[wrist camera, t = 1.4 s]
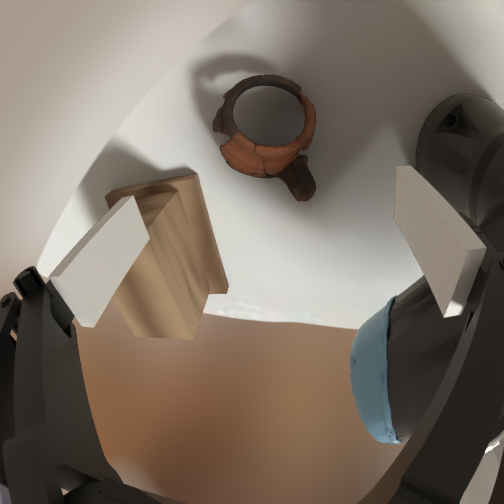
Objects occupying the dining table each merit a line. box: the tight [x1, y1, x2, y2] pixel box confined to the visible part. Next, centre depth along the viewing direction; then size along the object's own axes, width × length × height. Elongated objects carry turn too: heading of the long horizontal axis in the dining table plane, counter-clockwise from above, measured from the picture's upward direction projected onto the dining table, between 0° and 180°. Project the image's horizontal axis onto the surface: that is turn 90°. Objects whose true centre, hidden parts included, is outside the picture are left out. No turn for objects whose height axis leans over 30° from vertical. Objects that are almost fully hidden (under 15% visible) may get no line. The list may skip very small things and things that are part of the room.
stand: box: [105, 174, 229, 340], centre depth 31 cm, size 12×16×10 cm
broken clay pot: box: [213, 75, 316, 201], centre depth 24 cm, size 12×10×8 cm
